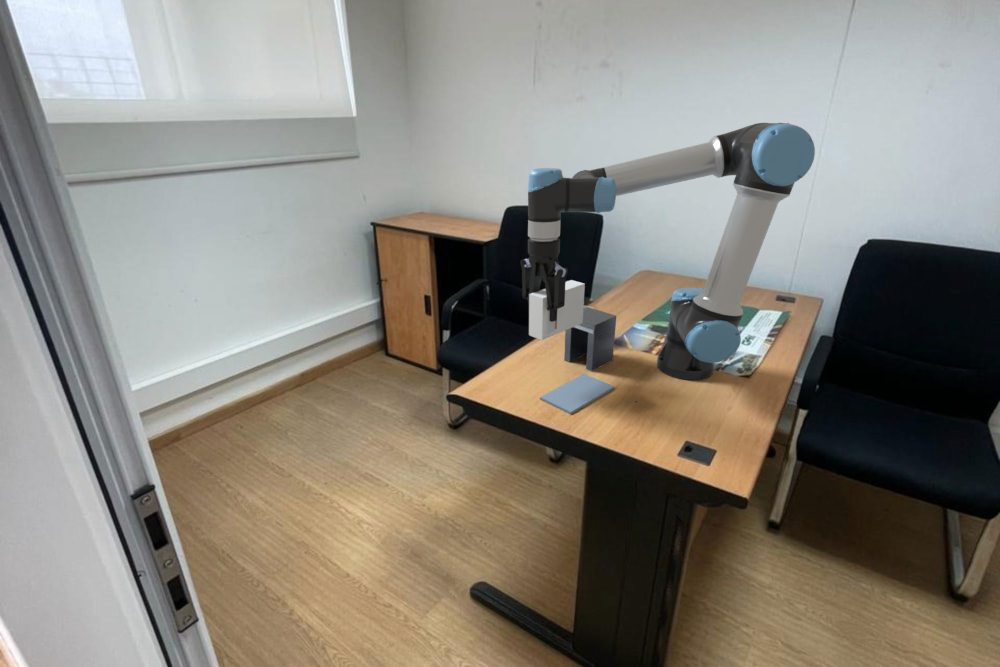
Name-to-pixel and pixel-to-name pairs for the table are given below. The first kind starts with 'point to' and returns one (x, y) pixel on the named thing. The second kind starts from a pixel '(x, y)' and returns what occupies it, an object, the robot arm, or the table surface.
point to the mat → (577, 393)
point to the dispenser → (592, 339)
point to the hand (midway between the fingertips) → (542, 329)
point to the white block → (566, 315)
